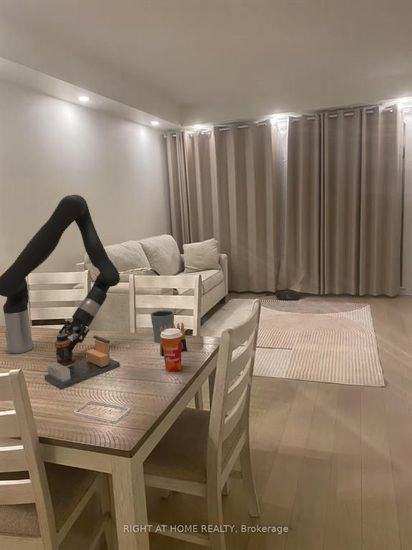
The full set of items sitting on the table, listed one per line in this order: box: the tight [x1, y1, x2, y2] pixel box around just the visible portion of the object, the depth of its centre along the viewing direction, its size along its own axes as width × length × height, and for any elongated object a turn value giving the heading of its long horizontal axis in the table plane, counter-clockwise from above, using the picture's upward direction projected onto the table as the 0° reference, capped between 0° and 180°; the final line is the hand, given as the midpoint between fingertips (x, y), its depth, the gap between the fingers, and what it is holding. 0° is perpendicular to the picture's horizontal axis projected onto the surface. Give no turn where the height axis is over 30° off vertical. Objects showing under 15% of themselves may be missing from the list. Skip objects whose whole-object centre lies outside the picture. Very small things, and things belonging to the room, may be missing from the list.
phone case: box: [73, 399, 131, 424], centre depth 115 cm, size 7×1×15 cm
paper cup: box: [160, 327, 182, 373], centre depth 142 cm, size 8×8×14 cm
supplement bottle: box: [54, 333, 74, 366], centre depth 152 cm, size 6×6×11 cm
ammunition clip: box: [159, 321, 188, 358], centre depth 157 cm, size 11×2×12 cm, turn 116°
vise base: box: [44, 358, 121, 390], centre depth 143 cm, size 23×12×6 cm, turn 137°
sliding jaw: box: [85, 335, 111, 367], centre depth 147 cm, size 5×10×9 cm, turn 47°
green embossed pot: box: [150, 309, 175, 344], centre depth 173 cm, size 10×10×12 cm
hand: (62, 348), depth 152 cm, fingers open, 8 cm apart
